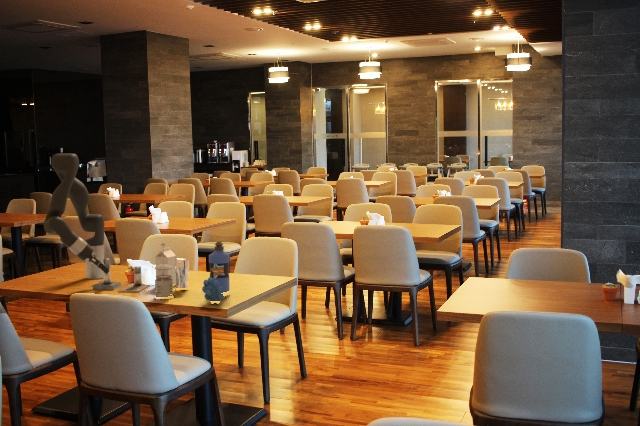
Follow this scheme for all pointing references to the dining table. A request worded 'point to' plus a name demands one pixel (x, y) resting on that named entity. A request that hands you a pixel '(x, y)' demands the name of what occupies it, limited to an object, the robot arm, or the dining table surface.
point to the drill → (108, 276)
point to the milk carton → (169, 260)
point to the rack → (134, 288)
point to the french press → (166, 285)
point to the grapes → (212, 290)
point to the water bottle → (220, 266)
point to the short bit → (137, 276)
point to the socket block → (106, 286)
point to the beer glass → (181, 272)
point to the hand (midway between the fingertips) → (106, 270)
